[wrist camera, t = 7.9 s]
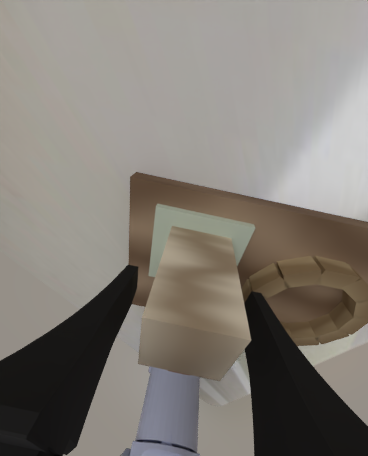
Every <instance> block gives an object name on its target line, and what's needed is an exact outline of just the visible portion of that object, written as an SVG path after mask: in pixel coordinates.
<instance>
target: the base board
mask: <svg viewBox="0 0 368 456" xmlns="http://www.w3.org/2000/svg"><path fill="white" fill-rule="evenodd" d="M157 204H162V205H167V206H171V207H176V208H181V209H185V210H190V211H194V212H199V213H204V214H208V215H213V216H218V217H222V218H227V219H232V220H236V221H241V222H245V223H250V224H254V226H255V230H254V232H253V234H252V236H251V238H250V241H249V243H248V245H247V247H246V249H245V251H244V253H243V255H242V257H241V259H240V261H239V264H238V266H237V269H238V274H239V280H240V285H241V290H242V295H243V300H244V303H245V301H246V300H247V298H248V296H249V295H250V293H251V291H254V292H259V293H262V295H263V296H264V298H265V300H266V301H267V303H268V304H269V306H270V307H271V309H272V311H273V312H274V314H275V315H276V317H277V318H278V320H279V321H280V323H281V324H282V326H283V327H284V329H285V330H286V332H287V333H288V334H289V336H290V337H291V339H292V340H293V341H294V343H295V344H296V345H297V346H304V345H319V342H320V343H321V344H324V343H328V342H331V341H334V340H337V339H341V338H344V337H347V336H349V335H348V334H353V333H355V332H356V331H358V330H359V329H360V328H362V327H363V326H364V325H366V324H367V323H368V222H364V221H360V220H355V219H351V218H346V217H341V216H337V215H332V214H327V213H323V212H318V211H314V210H309V209H304V208H300V207H295V206H291V205H286V204H281V203H277V202H272V201H267V200H263V199H258V198H254V197H249V196H244V195H240V194H235V193H230V192H226V191H221V190H217V189H212V188H207V187H203V186H198V185H193V184H189V183H184V182H180V181H175V180H170V179H166V178H161V177H156V176H152V175H147V174H143V173H138V172H136V173H135V174H133V175H132V176H131V177H130V225H129V265H133V266H138V283H137V290H136V293H135V296H134V299H133V302H132V304H135V305H139V306H144V307H146V304H147V301H148V298H149V294H150V291H151V288H152V285H153V282H154V279H155V277H151V276H149V266H150V257H151V247H152V238H153V229H154V219H155V210H156V205H157Z"/></svg>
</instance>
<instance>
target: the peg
mask: <svg viewBox="0 0 368 456" xmlns="http://www.w3.org/2000/svg"><path fill="white" fill-rule="evenodd" d="M250 342H251V336H250V331H249V326H248V320H247V315H246V310H245V305H244V300H243V295H242V290H241V285H240V280H239V274H238V269H237V264H236V259H235V254H234V249H233V244H232V239H231V238H228V237H223V236H218V235H213V234H209V233H204V232H199V231H194V230H190V229H185V228H180V227H175V226H172V227H171V230H170V233H169V236H168V239H167V242H166V245H165V249H164V252H163V255H162V258H161V261H160V264H159V267H158V270H157V273H156V276H155V279H154V282H153V285H152V288H151V291H150V294H149V298H148V301H147V304H146V307H145V310H144V313H143V316H142V324H141V335H140V347H139V359H138V364H141V365H146V366H150V367H155V368H160V369H165V370H168V371H170V372H175V373H180V374H184V375H189V376H190V375H193V376H198V377H202V378H207V379H212V380H217V381H221V379H222V378H223V377H224V375H225V374H226V373H227V371H228V370H229V369H230V368H231V366H232V365H233V364H234V362H235V361H236V360H237V358H238V357H239V356H240V355H241V353H242V352H243V351H244V349H245V348H246V347H247V345H248V344H249V343H250Z"/></svg>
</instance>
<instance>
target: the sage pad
mask: <svg viewBox="0 0 368 456" xmlns="http://www.w3.org/2000/svg"><path fill="white" fill-rule="evenodd" d="M172 226H175V227H180V228H185V229H190V230H194V231H199V232H204V233H209V234H213V235H218V236H223V237H228V238H231V239H232V244H233V249H234V254H235V259H236V264H237V266H238V264H239V261H240V259H241V257H242V255H243V253H244V251H245V249H246V247H247V245H248V243H249V241H250V238H251V236H252V234H253V232H254V230H255V226H254V224H250V223H245V222H241V221H236V220H232V219H227V218H222V217H218V216H213V215H208V214H204V213H199V212H194V211H190V210H185V209H181V208H176V207H171V206H167V205H162V204H157V205H156V210H155V219H154V229H153V238H152V247H151V257H150V266H149V276H151V277H155V276H156V273H157V270H158V267H159V264H160V261H161V258H162V255H163V252H164V249H165V245H166V242H167V239H168V236H169V233H170V230H171V227H172Z"/></svg>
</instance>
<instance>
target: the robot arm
mask: <svg viewBox="0 0 368 456" xmlns="http://www.w3.org/2000/svg"><path fill="white" fill-rule="evenodd" d="M137 283H138V266H133V265H127V266H126V267H125V269H124V270H123V271H122V272H121V273H120V274H119V275H118V276H117V277H116V278H115V279H114V280H113V281H112V282H111V283H110V284H109V285H108V286H107V287H106V288H105V289H103V290H102V291H101V292H100V293H99V294H98V295H97V296H96V297H94V298H93V299H92V300H91V301H90V302H89V303H87V304H86V305H85V306H84V307H82V308H81V309H80V310H79V311H78V312H76V313H75V314H73V315H72V316H71V317H69V318H68V319H67V320H65V321H64V322H62V323H61V324H59V325H58V326H56V327H55V328H54V329H52V330H51V331H49V332H48V333H46V334H44V335H43V336H41V337H40V338H38V339H36V340H35V341H33V342H32V343H30V344H28V345H27V346H25V347H24V348H22V349H20V350H19V351H17V352H15V353H13V354H12V355H10V356H8V357H6V358H4V359H3V360H1V361H0V456H63V454H65V455H67V454H68V453H70V452H71V451H72V450H73V449H74V448H75V447H76V446H77V444H78V440H79V437H80V434H81V432H82V429H83V425H84V423H85V420H86V417H87V414H88V411H89V408H90V405H91V402H92V399H93V397H94V394H95V390H96V388H97V385H98V382H99V380H100V377H101V374H102V372H103V369H104V366H105V363H106V361H107V358H108V355H109V352H110V350H111V347H112V345H113V343H114V341H115V338H116V336H117V334H118V332H119V330H120V328H121V326H122V323H123V321H124V319H125V317H126V315H127V313H128V311H129V309H130V306H131V304H132V302H133V299H134V296H135V293H136V290H137ZM244 305H245V310H246V315H247V320H248V326H249V331H250V336H251V342H250V343H249V344H248V345H247V347H246V348H245V353H246V358H247V364H248V370H249V377H250V387H251V398H252V412H253V429H254V454H255V455H254V456H368V426H367V425H366V424H365V423H364V422H363V421H362V420H361V419H360V418H359V417H358V416H357V415H356V414H355V413H354V412H353V411H352V410H351V409H350V408H349V407H348V406H347V405H346V403H344V401H343V400H342V399H341V398H340V397H339V396H338V395H337V394H336V393H335V391H334V390H333V389H332V388H331V387H330V386H329V385H328V384H327V383H326V381H325V380H324V379H323V378H322V377H321V376H320V374H318V372H317V371H316V370H315V368H314V367H313V366H312V365H311V364H310V362H309V361H308V360H307V359H306V357H305V356H304V355H303V353H302V352H301V351H300V350H299V348H298V347H297V345H296V344H295V343H294V341H293V340H292V339H291V337H290V336H289V334H288V333H287V332H286V330H285V329H284V327H283V326H282V324H281V323H280V321H279V320H278V318H277V317H276V315H275V314H274V312H273V311H272V309H271V307H270V306H269V304H268V303H267V301H266V300H265V298H264V296H263V295H262V293H259V292H254V291H251V293H250V295H249V296H248V298H247V300H246V301H245V303H244ZM149 373H150V377H149V382H148V386H147V390H146V395H145V400H144V404H143V408H142V413H141V418H140V422H139V426H138V431H137V436H136V440H135V441H133V443H132V447H131V449H129V448H126V449H125V451H124V452H123V453H122V454H121V455H120V456H200V454H198V453H197V442H198V410H199V379H200V377H198V376H193V375H190V376H189V375H184V374H180V373H175V372H170V371H168V370H165V369H160V368H155V367H150V366H149Z"/></svg>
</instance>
